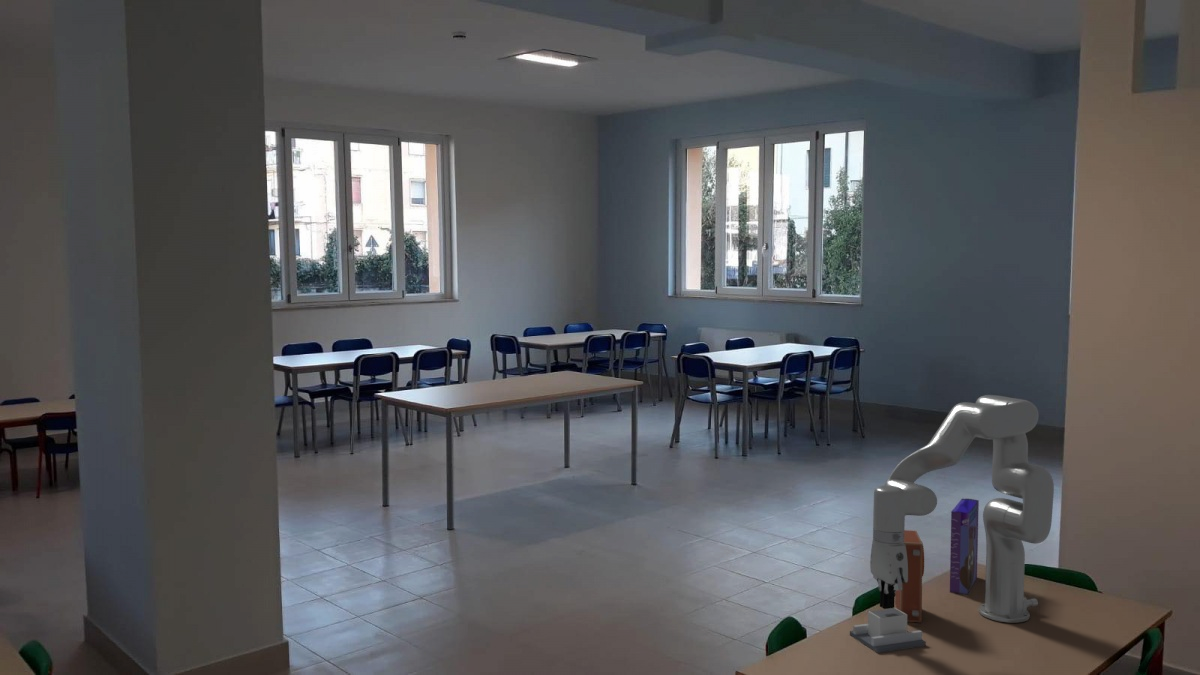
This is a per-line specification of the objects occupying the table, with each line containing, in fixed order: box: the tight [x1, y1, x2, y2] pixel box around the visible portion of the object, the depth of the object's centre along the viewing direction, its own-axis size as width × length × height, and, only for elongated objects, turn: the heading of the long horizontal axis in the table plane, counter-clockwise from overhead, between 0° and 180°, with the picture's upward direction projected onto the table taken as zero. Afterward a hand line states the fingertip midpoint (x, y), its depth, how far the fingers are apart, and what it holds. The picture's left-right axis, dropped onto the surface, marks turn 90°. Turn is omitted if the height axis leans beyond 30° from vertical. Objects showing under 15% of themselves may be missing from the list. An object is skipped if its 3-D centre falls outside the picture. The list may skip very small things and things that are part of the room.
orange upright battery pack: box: [894, 529, 925, 623], centre depth 253 cm, size 21×7×15 cm
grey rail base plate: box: [849, 623, 927, 654], centre depth 236 cm, size 14×12×3 cm
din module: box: [867, 607, 908, 637], centre depth 236 cm, size 8×5×6 cm, turn 107°
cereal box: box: [949, 498, 980, 596], centre depth 276 cm, size 17×5×24 cm, turn 149°
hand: (886, 607), depth 235 cm, fingers closed
